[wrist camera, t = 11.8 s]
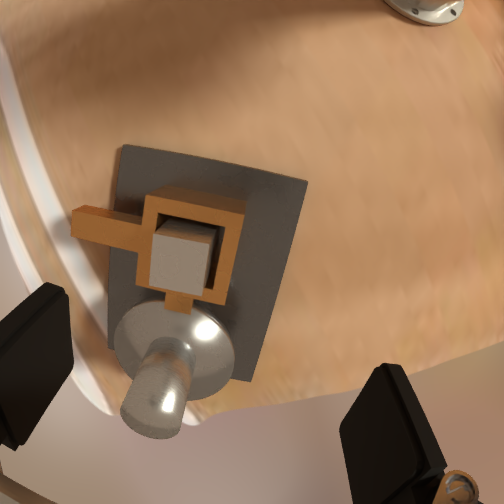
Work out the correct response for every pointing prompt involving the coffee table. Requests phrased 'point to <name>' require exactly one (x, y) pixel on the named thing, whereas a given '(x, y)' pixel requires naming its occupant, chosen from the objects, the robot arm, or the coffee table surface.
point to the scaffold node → (183, 304)
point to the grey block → (183, 255)
